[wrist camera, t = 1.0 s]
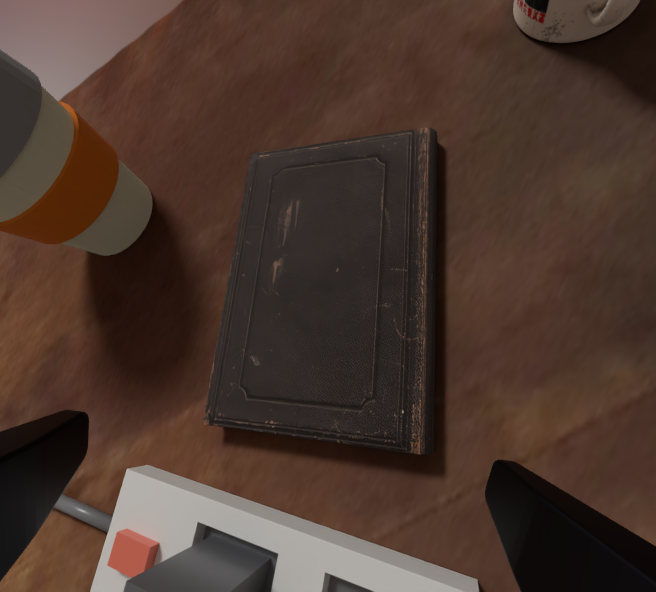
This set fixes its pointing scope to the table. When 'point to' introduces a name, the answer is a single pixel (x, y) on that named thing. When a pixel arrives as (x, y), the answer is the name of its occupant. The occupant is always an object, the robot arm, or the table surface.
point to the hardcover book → (333, 296)
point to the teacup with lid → (570, 18)
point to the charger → (206, 570)
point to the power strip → (245, 540)
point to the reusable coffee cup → (62, 173)
